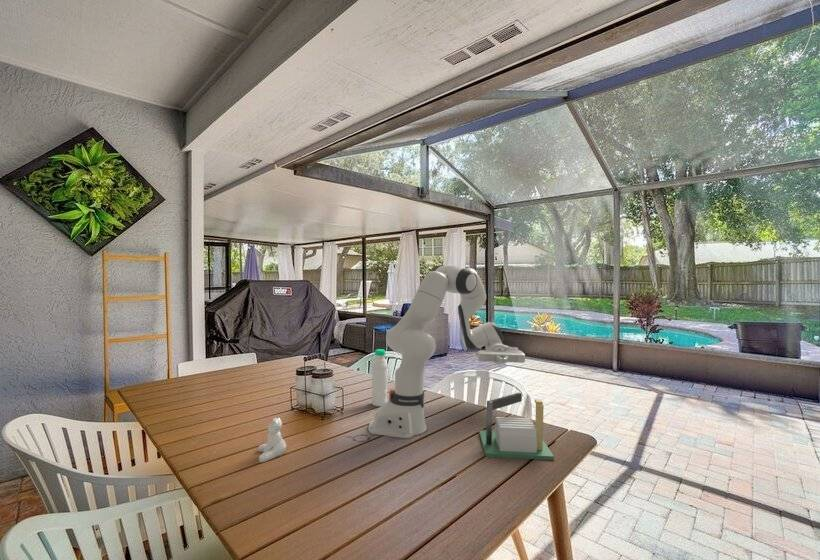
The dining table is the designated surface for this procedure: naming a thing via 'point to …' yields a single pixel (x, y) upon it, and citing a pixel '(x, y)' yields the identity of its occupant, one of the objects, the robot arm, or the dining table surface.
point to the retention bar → (495, 405)
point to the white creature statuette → (273, 442)
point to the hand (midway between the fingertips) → (504, 360)
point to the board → (504, 454)
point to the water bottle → (379, 379)
